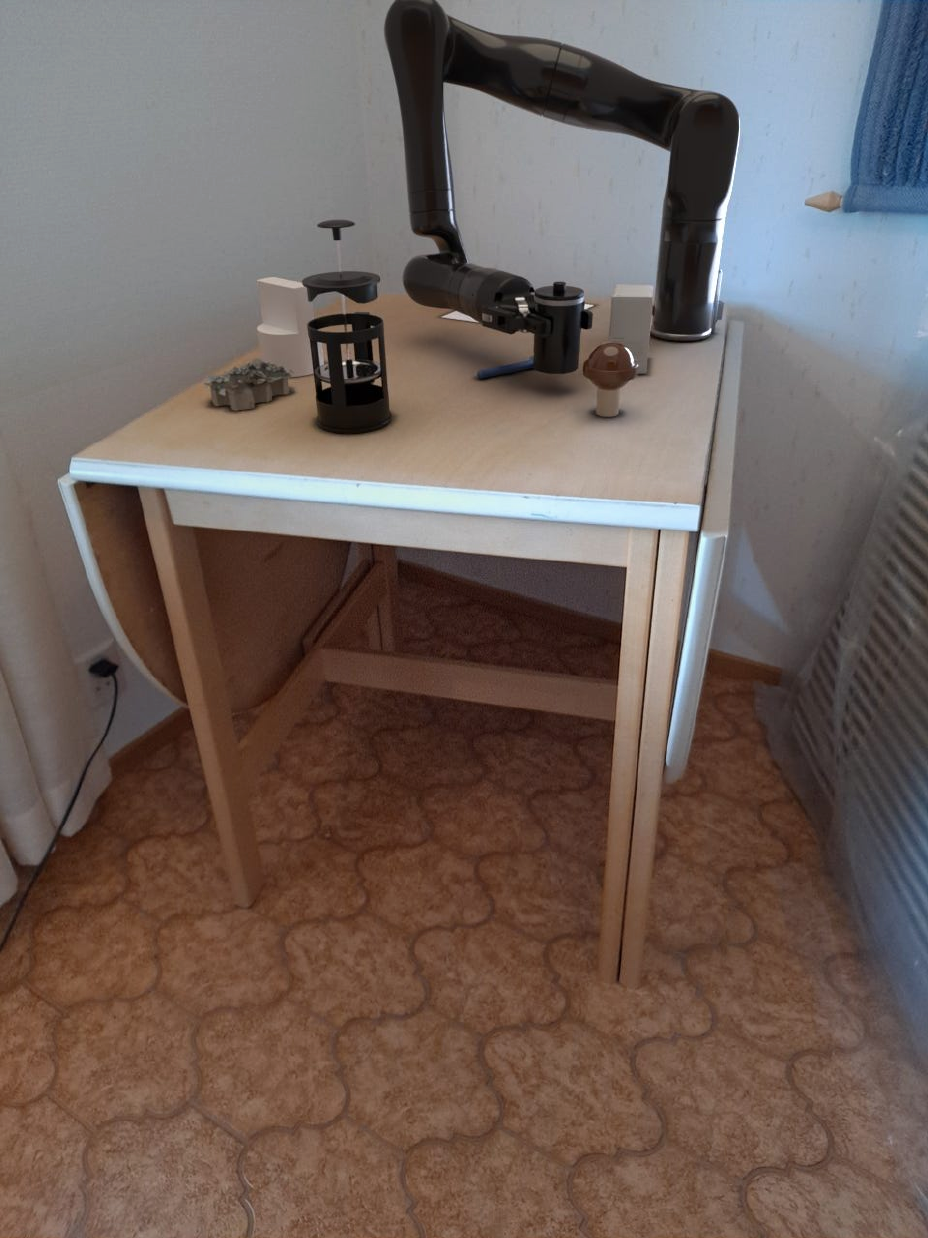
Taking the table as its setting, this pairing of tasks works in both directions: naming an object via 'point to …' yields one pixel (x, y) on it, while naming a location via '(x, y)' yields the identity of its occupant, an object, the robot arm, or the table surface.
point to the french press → (352, 389)
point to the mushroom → (609, 374)
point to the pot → (558, 328)
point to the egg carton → (248, 385)
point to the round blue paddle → (505, 369)
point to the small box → (632, 320)
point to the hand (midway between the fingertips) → (569, 324)
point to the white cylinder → (286, 325)
